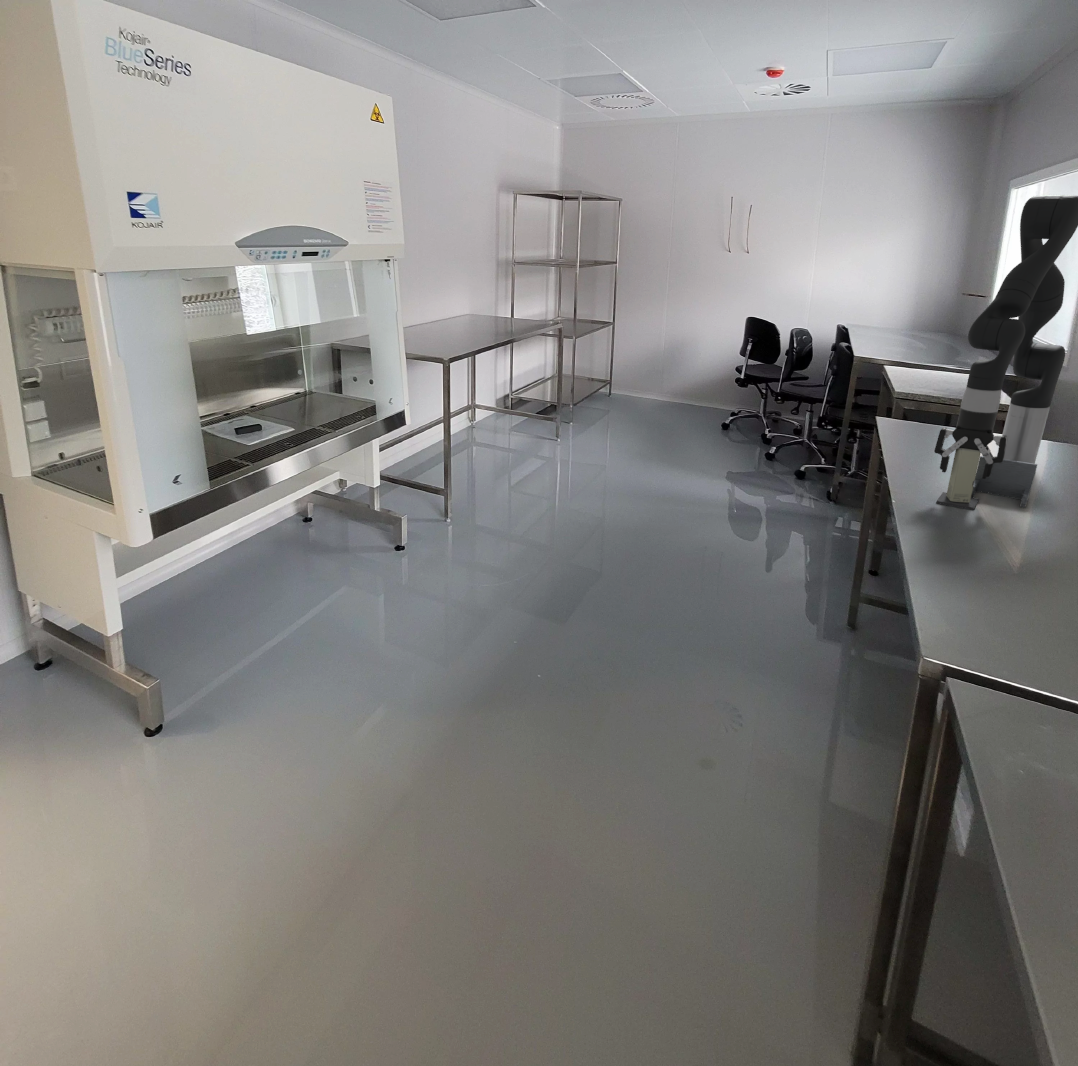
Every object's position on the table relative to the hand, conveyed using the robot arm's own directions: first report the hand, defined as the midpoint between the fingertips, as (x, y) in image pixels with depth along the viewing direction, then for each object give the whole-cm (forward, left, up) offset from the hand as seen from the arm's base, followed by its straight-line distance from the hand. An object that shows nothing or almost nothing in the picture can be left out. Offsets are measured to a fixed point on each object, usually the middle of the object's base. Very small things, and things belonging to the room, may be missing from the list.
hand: (963, 474), depth 175 cm
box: (0, 0, -6) cm, 7 cm away
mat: (0, 0, -7) cm, 7 cm away
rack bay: (-8, +7, -7) cm, 13 cm away
